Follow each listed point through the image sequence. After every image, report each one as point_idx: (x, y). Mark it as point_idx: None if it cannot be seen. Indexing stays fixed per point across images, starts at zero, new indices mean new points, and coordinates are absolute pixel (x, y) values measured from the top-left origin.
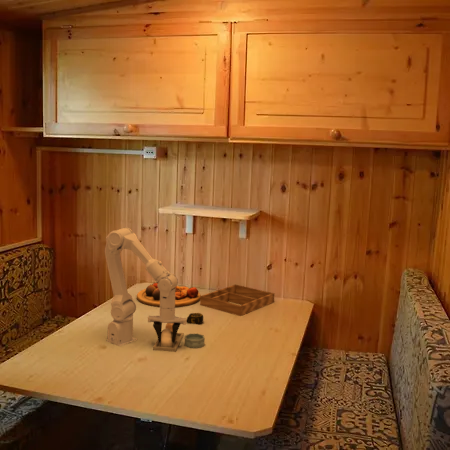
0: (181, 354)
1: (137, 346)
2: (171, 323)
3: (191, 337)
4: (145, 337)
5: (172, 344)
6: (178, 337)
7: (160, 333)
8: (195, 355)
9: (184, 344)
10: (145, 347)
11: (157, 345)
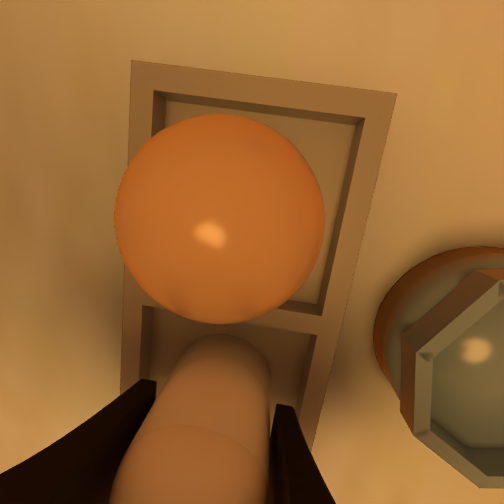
0: (341, 480)
1: (8, 343)
2: (214, 299)
3: (489, 314)
4: (7, 146)
5: (270, 399)
6: (323, 161)
7: (107, 478)
8: (445, 500)
9: (377, 339)
10: (68, 361)
11: (147, 371)
